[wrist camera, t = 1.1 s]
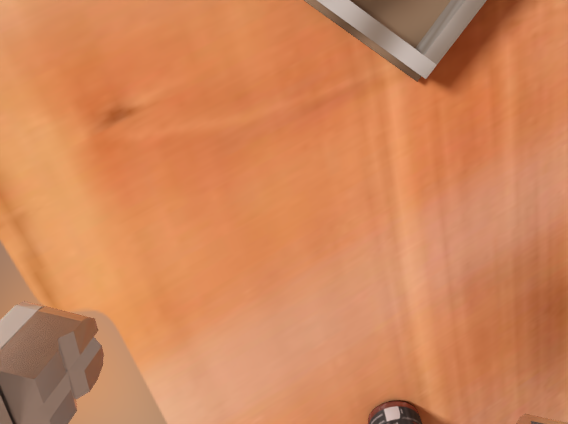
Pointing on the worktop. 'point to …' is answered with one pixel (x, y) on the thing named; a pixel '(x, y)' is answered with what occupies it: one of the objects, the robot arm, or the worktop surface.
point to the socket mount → (403, 28)
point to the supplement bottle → (394, 414)
